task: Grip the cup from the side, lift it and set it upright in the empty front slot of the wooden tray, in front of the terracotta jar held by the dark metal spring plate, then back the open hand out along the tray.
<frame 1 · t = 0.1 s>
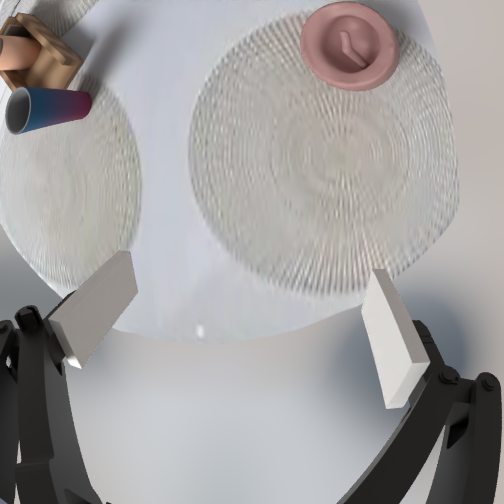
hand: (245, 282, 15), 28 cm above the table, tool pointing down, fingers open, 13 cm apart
cup: (81, 105, 38), on the table
pink round piece: (341, 56, 31), on the table
spoon: (16, 8, 27), on the table
wooden tray: (38, 59, 33), on the table
jar: (30, 54, 32), point 1 cm above the table, touching wooden tray
pusher: (8, 45, 27), point 6 cm above the table, slide at 0.0 cm
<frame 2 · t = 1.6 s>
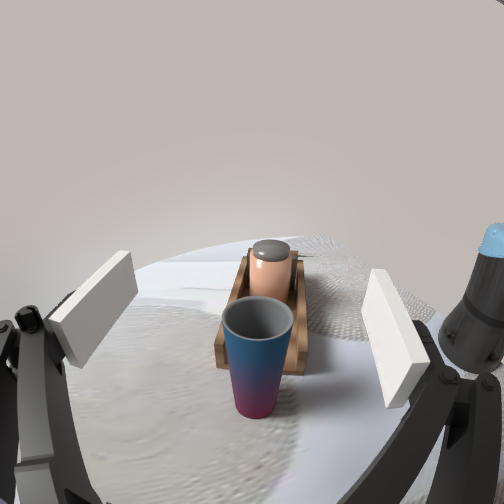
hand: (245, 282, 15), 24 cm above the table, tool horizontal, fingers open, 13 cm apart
cup: (254, 404, 33), on the table
spoon: (292, 258, 71), on the table
wooden tray: (267, 317, 50), on the table
jar: (268, 302, 52), point 1 cm above the table, touching wooden tray
pusher: (271, 268, 54), point 6 cm above the table, slide at 0.0 cm
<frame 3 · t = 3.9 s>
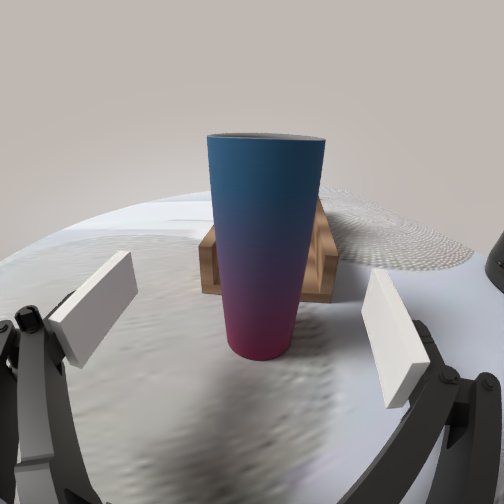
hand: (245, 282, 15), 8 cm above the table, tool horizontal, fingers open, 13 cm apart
cup: (259, 339, 22), on the table
wooden tray: (274, 243, 39), on the table
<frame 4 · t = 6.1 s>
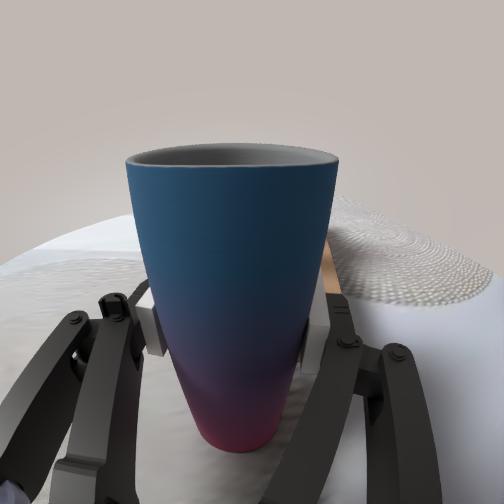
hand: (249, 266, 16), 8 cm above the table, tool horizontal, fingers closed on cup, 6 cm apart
cup: (237, 420, 15), on the table, touching gripper
wooden tray: (264, 272, 32), on the table
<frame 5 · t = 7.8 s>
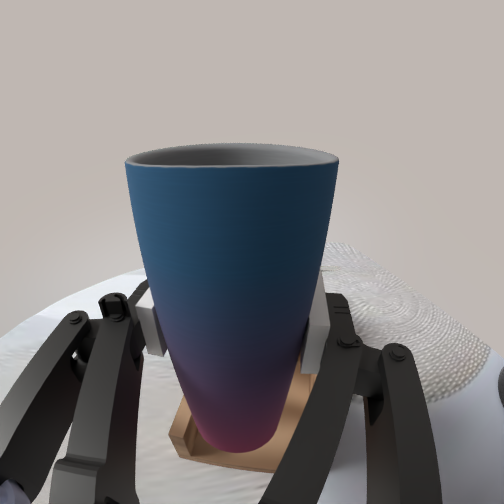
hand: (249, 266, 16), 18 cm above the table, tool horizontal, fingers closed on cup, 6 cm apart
cup: (237, 420, 15), point 9 cm above the table, touching gripper
spoon: (302, 273, 53), on the table
wooden tray: (264, 369, 31), on the table
when the fingers open (10 cm above the table, at t = 10.0 s): cup drops 1 cm, resting on wooden tray.
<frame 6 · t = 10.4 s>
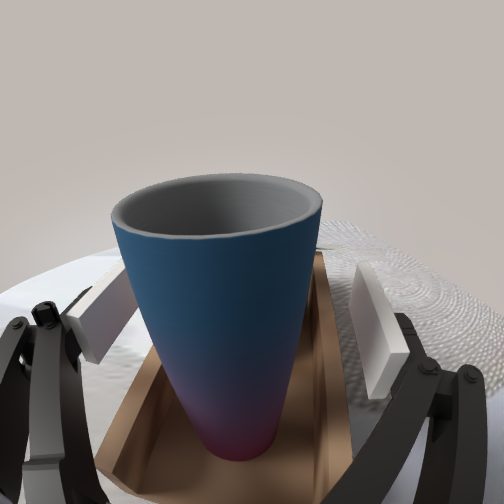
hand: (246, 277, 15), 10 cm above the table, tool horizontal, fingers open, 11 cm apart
cup: (237, 430, 16), point 1 cm above the table, touching wooden tray
spoon: (298, 252, 44), on the table
wooden tray: (250, 369, 22), on the table
pusher: (261, 267, 27), point 6 cm above the table, slide at 0.0 cm
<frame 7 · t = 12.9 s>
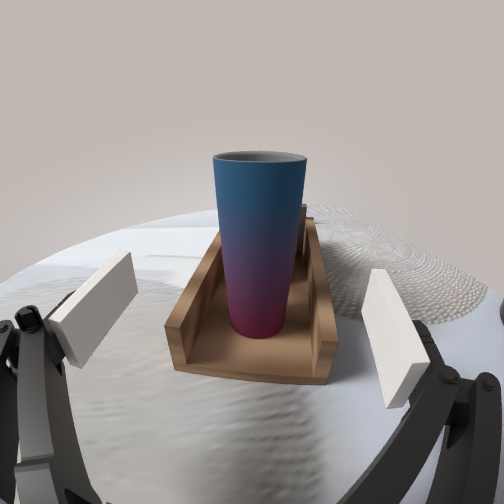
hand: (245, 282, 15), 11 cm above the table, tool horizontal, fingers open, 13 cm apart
cup: (257, 322, 27), point 1 cm above the table, touching wooden tray
wooden tray: (263, 292, 33), on the table
pusher: (269, 223, 37), point 6 cm above the table, slide at 0.0 cm
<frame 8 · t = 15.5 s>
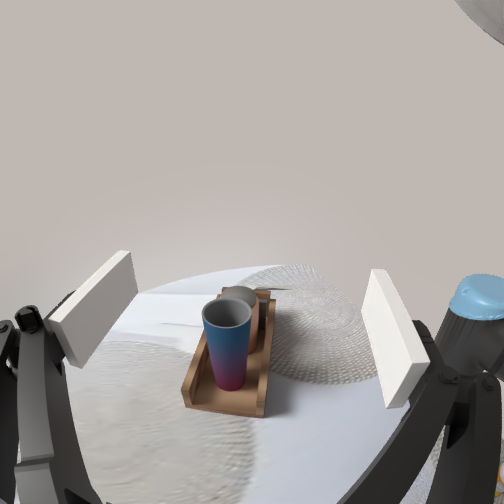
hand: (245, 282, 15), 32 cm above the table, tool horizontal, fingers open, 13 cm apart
cup: (230, 380, 45), point 1 cm above the table, touching wooden tray
spoon: (269, 291, 73), on the table
wooden tray: (236, 357, 51), on the table
jar: (239, 342, 53), point 1 cm above the table, touching wooden tray
supplement bottle: (486, 488, 18), on the table
pusher: (242, 310, 55), point 6 cm above the table, slide at 0.0 cm
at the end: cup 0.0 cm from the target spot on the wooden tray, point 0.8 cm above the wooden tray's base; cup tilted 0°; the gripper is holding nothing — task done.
